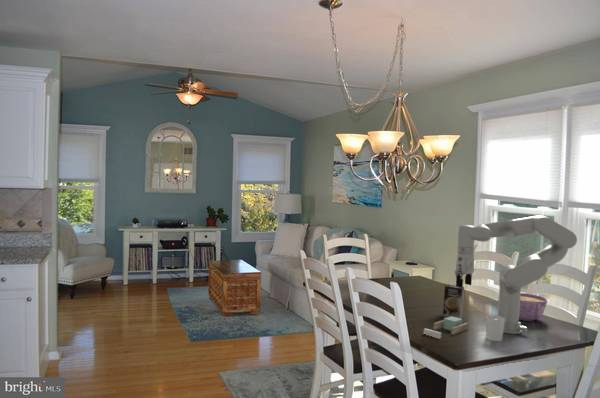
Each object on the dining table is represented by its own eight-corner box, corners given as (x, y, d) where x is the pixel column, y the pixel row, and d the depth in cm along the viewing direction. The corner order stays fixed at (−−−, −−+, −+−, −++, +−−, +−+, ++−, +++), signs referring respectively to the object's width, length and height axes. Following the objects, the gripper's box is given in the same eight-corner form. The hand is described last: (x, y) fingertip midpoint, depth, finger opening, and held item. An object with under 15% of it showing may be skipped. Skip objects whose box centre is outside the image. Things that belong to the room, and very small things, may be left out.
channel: (467, 329, 241) (468, 323, 241) (453, 335, 231) (453, 328, 231) (448, 324, 248) (448, 318, 248) (433, 329, 238) (433, 323, 238)
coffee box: (442, 316, 262) (444, 286, 261) (445, 313, 268) (446, 283, 267) (460, 319, 258) (462, 288, 257) (462, 316, 264) (464, 286, 263)
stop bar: (440, 338, 226) (441, 332, 225) (439, 338, 225) (439, 333, 224) (425, 333, 231) (425, 328, 231) (423, 334, 230) (423, 328, 230)
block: (462, 329, 241) (462, 319, 241) (454, 331, 236) (455, 321, 236) (450, 326, 246) (451, 316, 245) (443, 328, 241) (443, 318, 241)
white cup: (488, 335, 233) (489, 314, 233) (505, 339, 228) (507, 317, 228) (482, 339, 227) (483, 317, 226) (500, 343, 222) (501, 321, 221)
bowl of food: (551, 326, 253) (552, 303, 252) (508, 322, 257) (510, 299, 256) (540, 315, 272) (541, 294, 272) (501, 312, 276) (502, 291, 276)
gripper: (464, 252, 237) (462, 289, 237) (481, 250, 249) (479, 284, 250) (449, 250, 242) (447, 286, 243) (467, 248, 254) (465, 282, 255)
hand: (463, 285), depth 246 cm, fingers open, 8 cm apart
